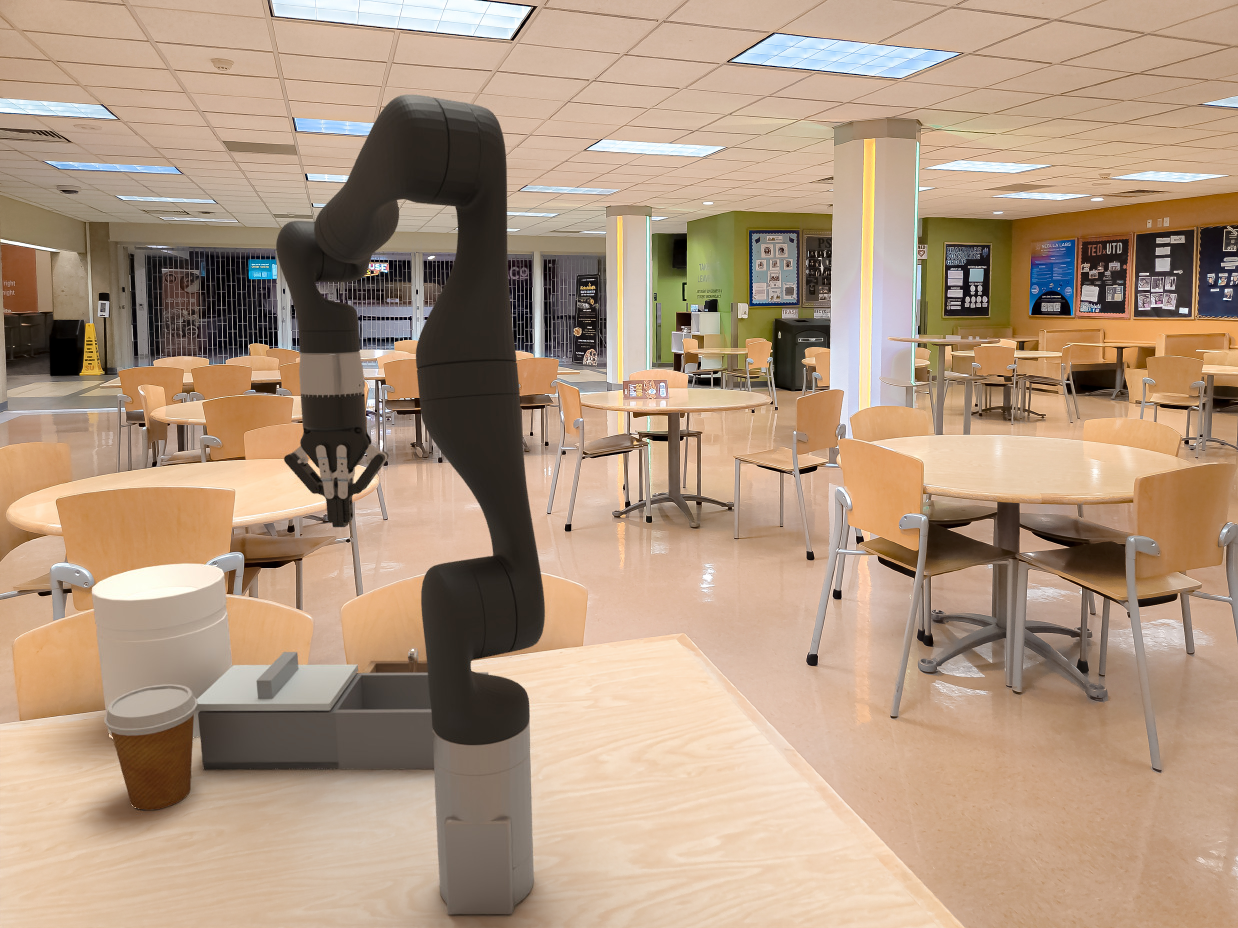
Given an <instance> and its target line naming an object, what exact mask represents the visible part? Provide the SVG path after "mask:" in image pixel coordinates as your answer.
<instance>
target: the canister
mask: <svg viewBox="0 0 1238 928" xmlns="http://www.w3.org/2000/svg"><path fill="white" fill-rule="evenodd" d="M91 599H92V607H93V613H94V614H93V615H94V624H95V625H96V641H97V642H96V643H97V650H98V657H99V665H100V675H101V683H102V684H101V685H102V690H103V691H102V692H103V700H104V707H105V716H106V715H107V712H108V706H109V704H110V703H111V702H112V701H113V700H115V699H116V698H118V697H120V696H121V695H123V694H126V693H128V692H131V691H134V690H137V689H140V688H144V687H149V686H155V685H165V684H172V685H182V686H185V687H188V688H189V689H190V690H191V691H192V693H193V696H194V697H195V698H196V699H198V698H199V697H200V696H201V695H202V694H203V693H204V692H205V691H206V690H207V689H209V688H210V687H211V686H212V685H213V684H214V683H215V682H216V681H217V680H218V679H219V678H220V677H221V676H222V675H223V674H225V673H226V672H227V671H228V670H229V669H230V668H231V667H232V666H233V659H232V647H231V638H230V637H231V636H230V626H229V625H230V623H229V614H228V610H227V603H228V602H227V589H226V580H225V573H224V571H223V569H222V568H220V567H217V566H215V565H210V564H203V563H172V564H161V565H154V566H147V567H146V566H145V567H142V568H136V569H132V570H128V571H125V572H120V573H117V574H114V575H110V576H109V577H106V578H104V579H102V580H100V581H98V582H97V583H96V584H95V585H93V586H92V587H91ZM199 712H200V711H195V713H194V720H193V737H196V738H198V737H200V729H199V719H198V713H199ZM108 733H109V734H110V735H111V736H112V733H111V731H110V730H109V729H108V728H107V734H108ZM197 736H198V737H197Z"/></svg>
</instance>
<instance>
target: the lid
mask: <svg viewBox="0 0 1238 928" xmlns="http://www.w3.org/2000/svg"><path fill="white" fill-rule="evenodd" d="M356 673H359V664H299V656H298V651H284V652H283V653H281V655H280V656H279V657H278V658H277V659H275V660H274V662H273V663H272V664H232V667H231V668H230V669H229V670H228V671H227V672H226V673H225V674H223V675H222V676H221V677H220V678H219V679H218V680H217V681H216V682H215V683H214V684H213V685H212V686H211V687H210V688H209V689H207V690H206V691H205V692H204V693H203V694H202V695H201V696H200V697H199V698H198V699H197V702H198V704H197V707H196V709H195V711H310V710H331V708H332V707H333V705H334V704H335V703H336V701H337V700H338V698H339V697H340V696H341V694H342V693H343V691H344V690H345V689H346V687H347V686H348V684H349V683H350V682H351V680H352V679H353V677H354V676H355V675H356Z"/></svg>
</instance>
